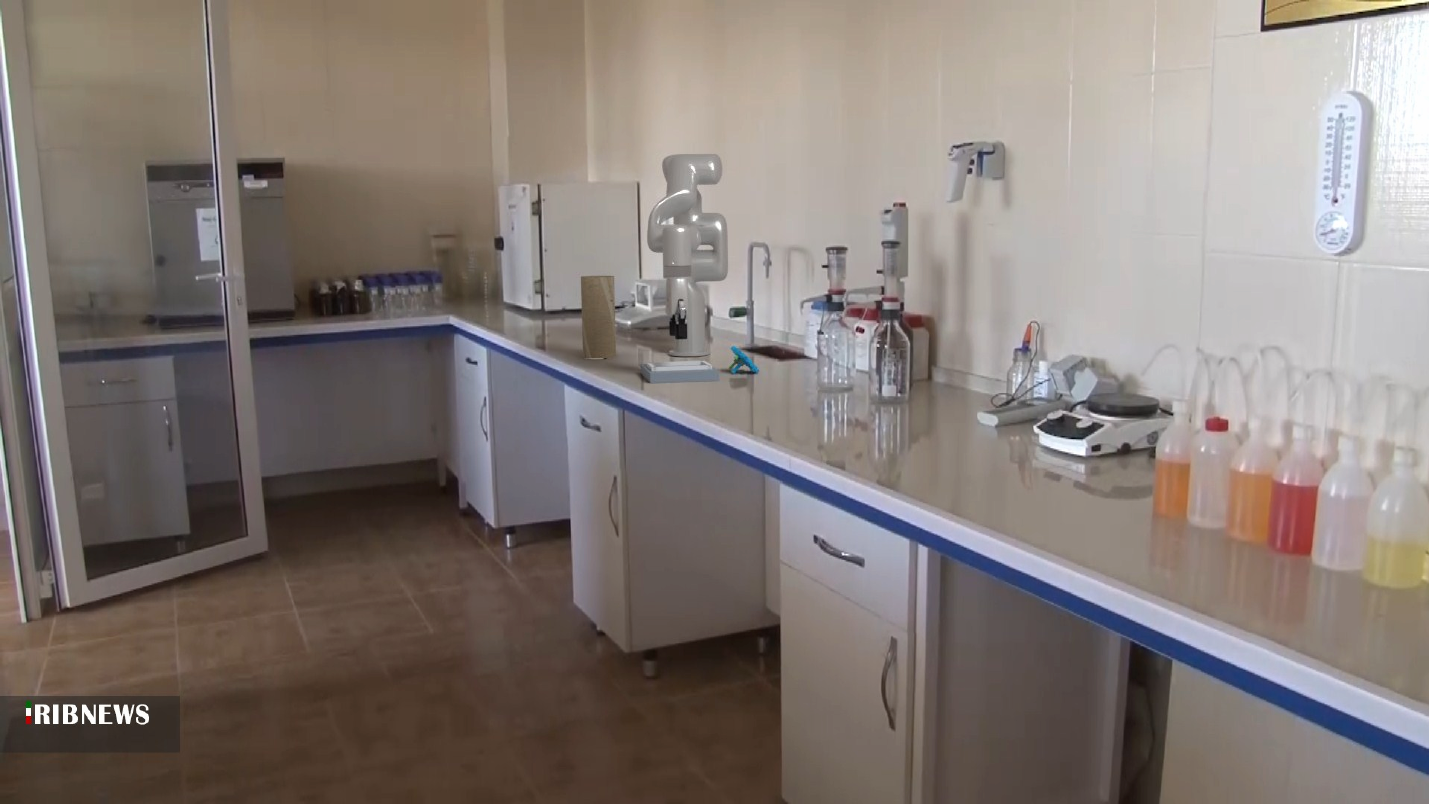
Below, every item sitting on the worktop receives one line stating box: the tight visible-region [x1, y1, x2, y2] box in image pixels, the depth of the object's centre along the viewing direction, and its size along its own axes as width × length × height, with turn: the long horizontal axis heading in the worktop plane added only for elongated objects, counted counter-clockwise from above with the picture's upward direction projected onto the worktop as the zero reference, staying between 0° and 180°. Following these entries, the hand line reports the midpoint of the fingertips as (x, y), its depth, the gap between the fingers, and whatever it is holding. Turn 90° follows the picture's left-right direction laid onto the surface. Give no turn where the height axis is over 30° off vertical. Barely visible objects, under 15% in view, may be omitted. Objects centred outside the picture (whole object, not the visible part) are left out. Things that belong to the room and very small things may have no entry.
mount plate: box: [640, 360, 720, 384], centre depth 307 cm, size 20×18×4 cm
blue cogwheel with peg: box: [728, 345, 760, 375], centre depth 311 cm, size 11×6×10 cm
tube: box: [580, 275, 617, 359], centre depth 348 cm, size 10×10×25 cm
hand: (678, 337), depth 305 cm, fingers open, 9 cm apart
